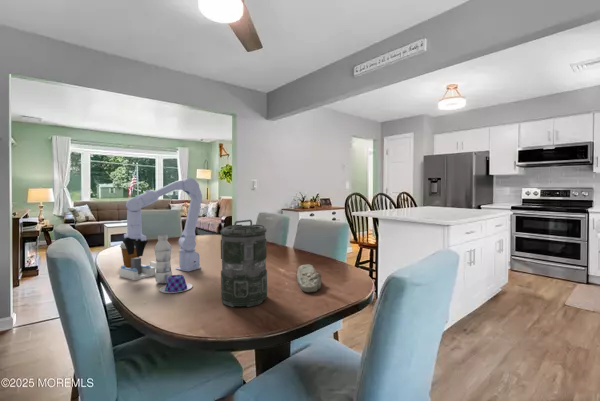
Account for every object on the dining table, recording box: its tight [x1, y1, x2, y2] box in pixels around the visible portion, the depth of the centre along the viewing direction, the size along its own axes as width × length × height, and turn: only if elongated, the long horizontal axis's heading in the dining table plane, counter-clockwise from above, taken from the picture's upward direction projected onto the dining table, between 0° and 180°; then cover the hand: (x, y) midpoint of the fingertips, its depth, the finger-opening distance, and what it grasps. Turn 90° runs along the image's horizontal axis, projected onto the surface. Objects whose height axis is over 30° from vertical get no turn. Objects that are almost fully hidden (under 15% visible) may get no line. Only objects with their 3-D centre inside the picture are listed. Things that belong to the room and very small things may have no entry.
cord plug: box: [130, 256, 142, 274], centre depth 138 cm, size 3×3×7 cm
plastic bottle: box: [153, 233, 173, 284], centre depth 127 cm, size 6×7×20 cm
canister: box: [219, 219, 268, 308], centre depth 107 cm, size 16×16×28 cm
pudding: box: [159, 274, 193, 294], centre depth 120 cm, size 12×12×5 cm
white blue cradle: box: [118, 260, 156, 281], centre depth 141 cm, size 12×16×5 cm
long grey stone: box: [296, 264, 322, 293], centre depth 131 cm, size 35×5×10 cm
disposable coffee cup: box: [119, 242, 137, 269], centre depth 155 cm, size 10×10×12 cm
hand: (135, 255), depth 137 cm, fingers open, 7 cm apart
